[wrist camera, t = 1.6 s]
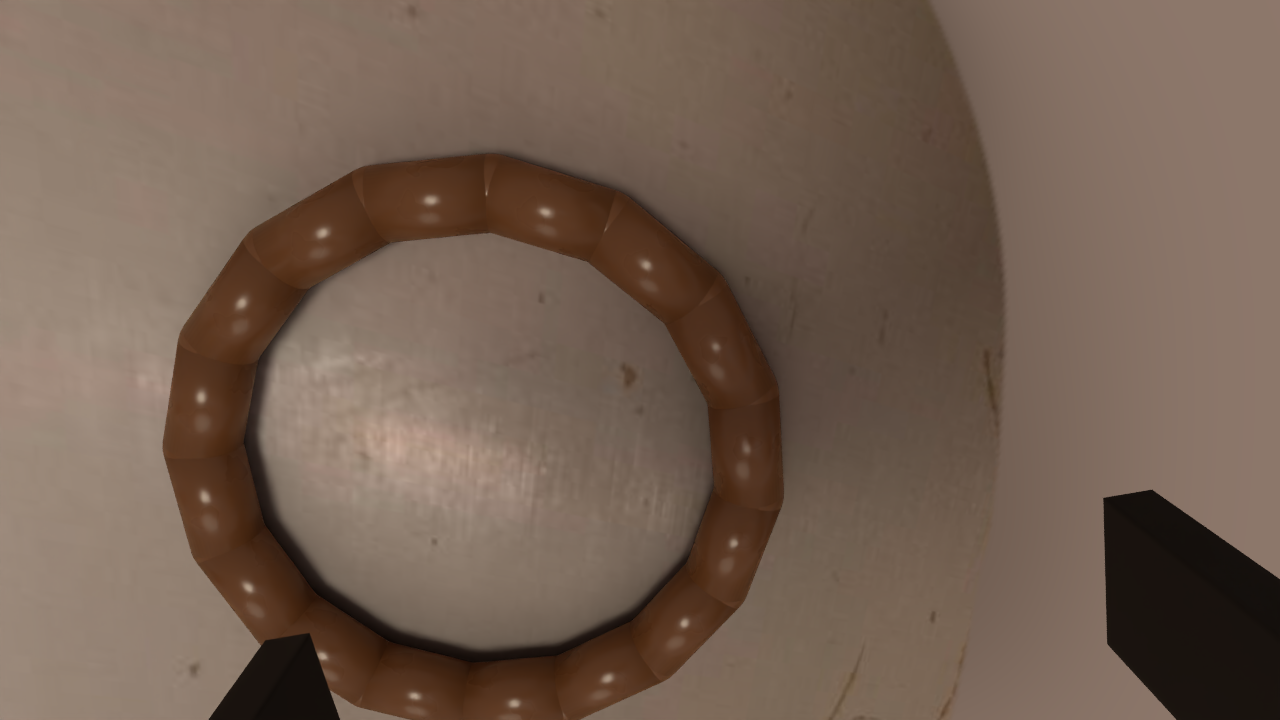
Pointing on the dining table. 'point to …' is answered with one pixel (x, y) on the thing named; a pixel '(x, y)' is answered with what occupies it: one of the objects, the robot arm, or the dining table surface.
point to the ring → (442, 207)
